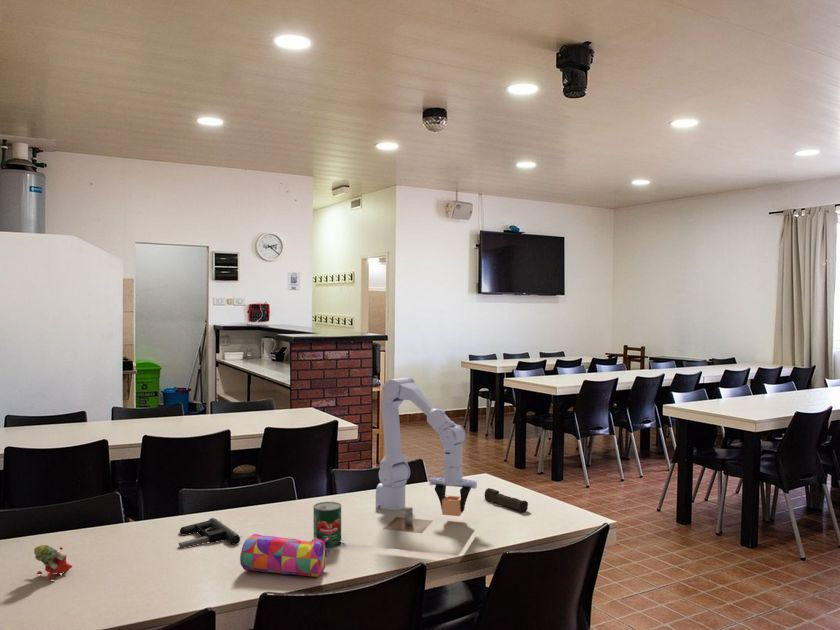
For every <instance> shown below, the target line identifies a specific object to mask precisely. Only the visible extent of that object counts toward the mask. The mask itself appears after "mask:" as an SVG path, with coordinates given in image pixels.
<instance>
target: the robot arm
mask: <svg viewBox="0 0 840 630" xmlns="http://www.w3.org/2000/svg"><path fill="white" fill-rule="evenodd" d="M404 401H410V402H412V403H413V404H414V405H415V406H416V407H417V408H418V409H419V410H420V411H421V412H422V413H423V414H424V415H426V422H427V423H428V425H429V426H431V427H432V428H433V430H434V431H435V432H436V433H437V435H439V441H440V442H441V444H442V450H443V477H432V476H431V477H430V478H429V486H435V487H434V491H435V493H436V496H437V497H438V500H439V504H440V509H441V510H442V499H443V498H444V497H445V496H446V490H447V487H454V488H455V487H456V488H459V487H460V489H459V493H460V495H459V496H461V512H462V513H464V511H465V508H466V507H465V506H466V502H467V498H468V497H469V494H470V493H471V492H470V491H471V490H472V489H473V490H475V489H477V487H478V484H477V483H478V481H477V480H472V479H471V480H470V479H465V478H463V443H465V441H466V439H467V432H466V430H465V428H464V427H463V425H460V424H456V423H455V421H453V420H451V418H450V417H448V415H447V414H446V411H445V410H444V409H440V408H435V407H434V406H433V404H432V403H431V402H430V400H429V399H428V398H427V397H426V396H425V394H424V393H423V392H422V390H421V389H420V388H419V383H417V382H416V381H415V380H414V379H413V378H412V377H410V376H406V377H400V378H390V379H388V380H387V381H385V383H384V384H383V385H382V398H381V414H382V415H381V418H382V427H383V428H382V429H383V440H384V453H385V455H384V456H383V458H382V459H381V460H380V462H379V470H378V479H379V483H378V484H377V486H376V489H375V509H383V510H388V511H400V510H403V509H404V510H405V507H406V484H407V482H408V480H409V479H410V476H411V469H410V466H409V463H408V458H407V457H406V456H405V455H404V454H403V451H402V438H401V425H400V410H399V407H400V405H401V404H402V403H403V402H404Z"/></svg>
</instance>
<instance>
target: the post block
mask: <svg viewBox="0 0 840 630" xmlns="http://www.w3.org/2000/svg"><path fill="white" fill-rule="evenodd" d="M413 511H414V510H413V506H412V507H411V506H405V508H404V517H403V516H402V517H399V516H395V517H394V518H393V519H392V520H391V521H390V522H389V523H388V524H386V525H385V526H384V527H383V528H382V530H389V531H399V532H408V533H416V534H417V533H419V534H423V533H424V532H425V530H426V529H427V528H429V526H430V524H431V523H433V521H434V520H433V519H431V520H430V519H424V518H423V519H421V518H413Z"/></svg>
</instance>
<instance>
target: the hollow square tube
mask: <svg viewBox="0 0 840 630" xmlns="http://www.w3.org/2000/svg"><path fill="white" fill-rule="evenodd" d="M462 514H463V512H461V495H459V496H458V495H446V494H445V497H444V498H443V499H442V509H441V515H442V516H443V515H444V516H453V517H460V516H461V515H462Z"/></svg>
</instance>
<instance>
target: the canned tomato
mask: <svg viewBox="0 0 840 630" xmlns="http://www.w3.org/2000/svg"><path fill="white" fill-rule="evenodd" d="M312 538H313V539H314V538H317V539H321V540H322V541H323V542H324V541H325V540H326V539H327V538H329V539H328V540H327V541H326V542H325V543H324V544H325V549H326V550H328V549H330V550H333V549H337V548H339V547H340V546H342V542H341V540H342V504H341V503H339V502H335V501H325V502H324V501H323V502H317V503H315V504H313V537H312ZM313 539H312V540H313Z"/></svg>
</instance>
